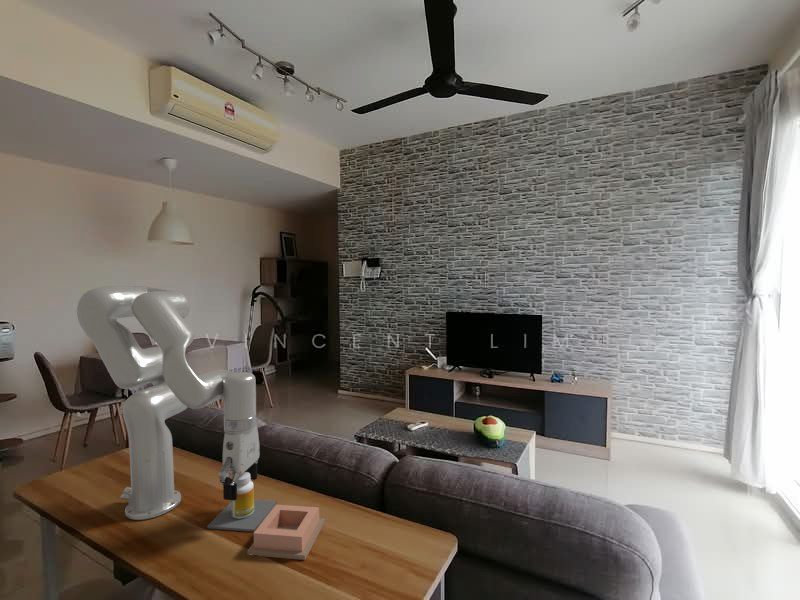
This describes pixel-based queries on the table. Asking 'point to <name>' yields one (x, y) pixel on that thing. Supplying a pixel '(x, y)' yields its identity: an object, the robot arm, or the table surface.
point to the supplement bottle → (243, 497)
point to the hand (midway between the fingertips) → (241, 488)
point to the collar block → (287, 532)
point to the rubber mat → (243, 524)
